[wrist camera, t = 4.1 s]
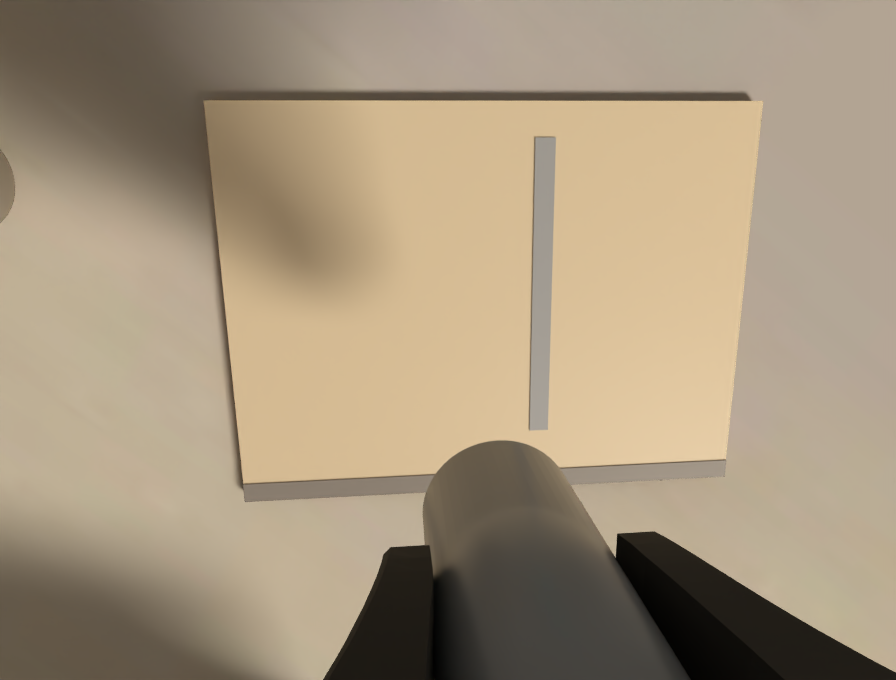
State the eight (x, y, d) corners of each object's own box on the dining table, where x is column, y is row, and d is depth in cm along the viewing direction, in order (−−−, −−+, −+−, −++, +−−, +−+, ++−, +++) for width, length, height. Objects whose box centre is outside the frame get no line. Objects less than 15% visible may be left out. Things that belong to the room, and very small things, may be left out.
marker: (570, 573, 12) (907, 1292, 4) (422, 583, 11) (466, 1370, 4) (576, 434, 11) (1001, 971, 3) (417, 441, 11) (463, 1043, 3)
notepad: (717, 470, 20) (724, 476, 19) (248, 495, 18) (244, 502, 18) (754, 103, 17) (764, 100, 16) (208, 103, 16) (202, 99, 15)
